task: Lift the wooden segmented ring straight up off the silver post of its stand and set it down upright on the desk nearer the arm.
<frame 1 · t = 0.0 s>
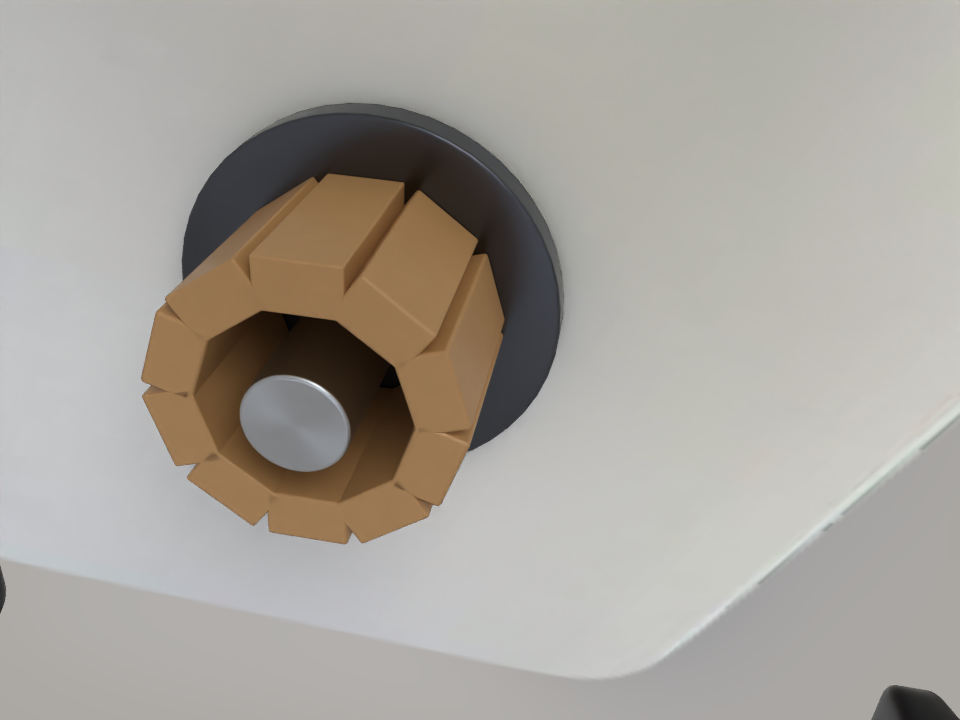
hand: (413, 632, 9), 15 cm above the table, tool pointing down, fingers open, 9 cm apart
wooden segmented ring: (366, 307, 24), point 1 cm above the table, touching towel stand
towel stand: (376, 291, 24), on the table
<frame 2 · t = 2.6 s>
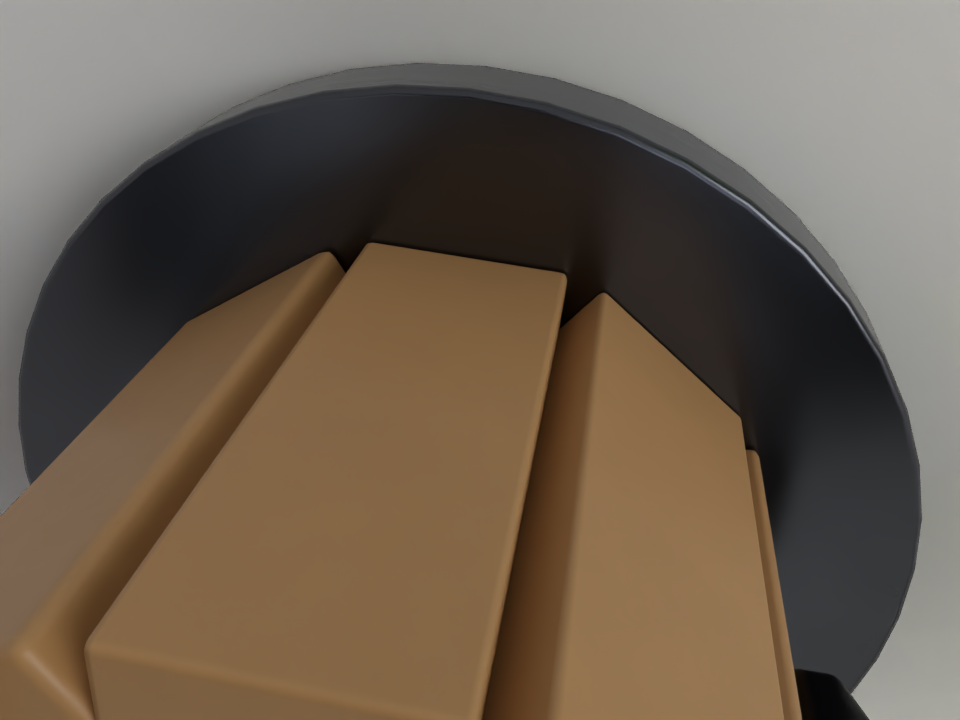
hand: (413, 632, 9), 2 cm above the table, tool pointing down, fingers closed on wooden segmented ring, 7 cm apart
wooden segmented ring: (438, 541, 10), point 1 cm above the table, touching gripper, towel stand
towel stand: (456, 486, 11), on the table
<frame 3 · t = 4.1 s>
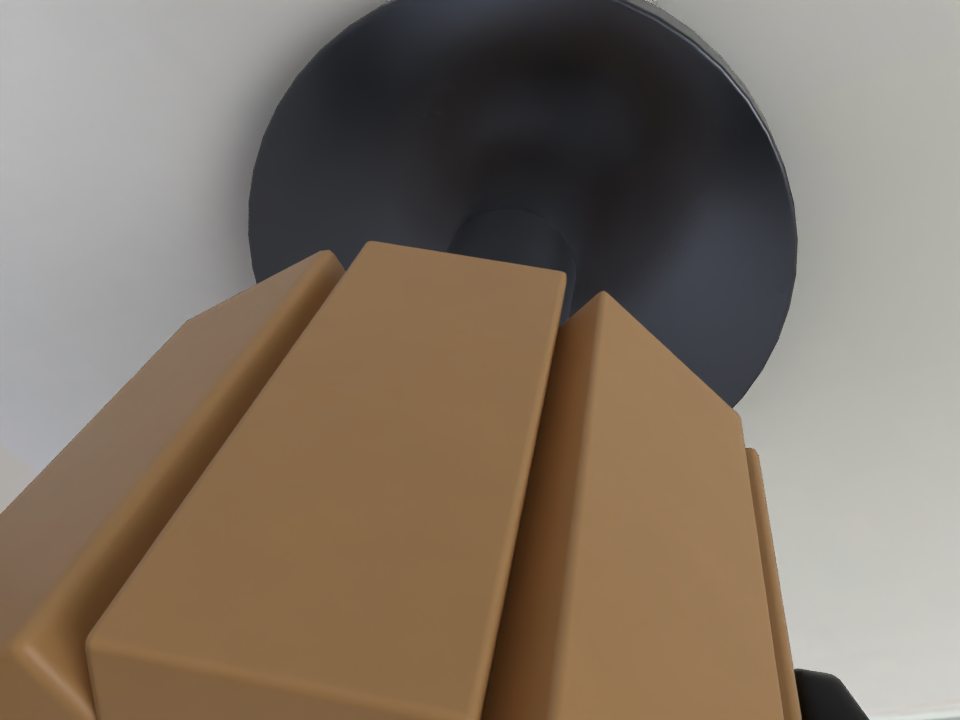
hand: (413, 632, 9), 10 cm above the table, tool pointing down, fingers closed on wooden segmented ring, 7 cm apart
wooden segmented ring: (438, 539, 10), point 8 cm above the table, touching gripper
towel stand: (516, 250, 18), on the table
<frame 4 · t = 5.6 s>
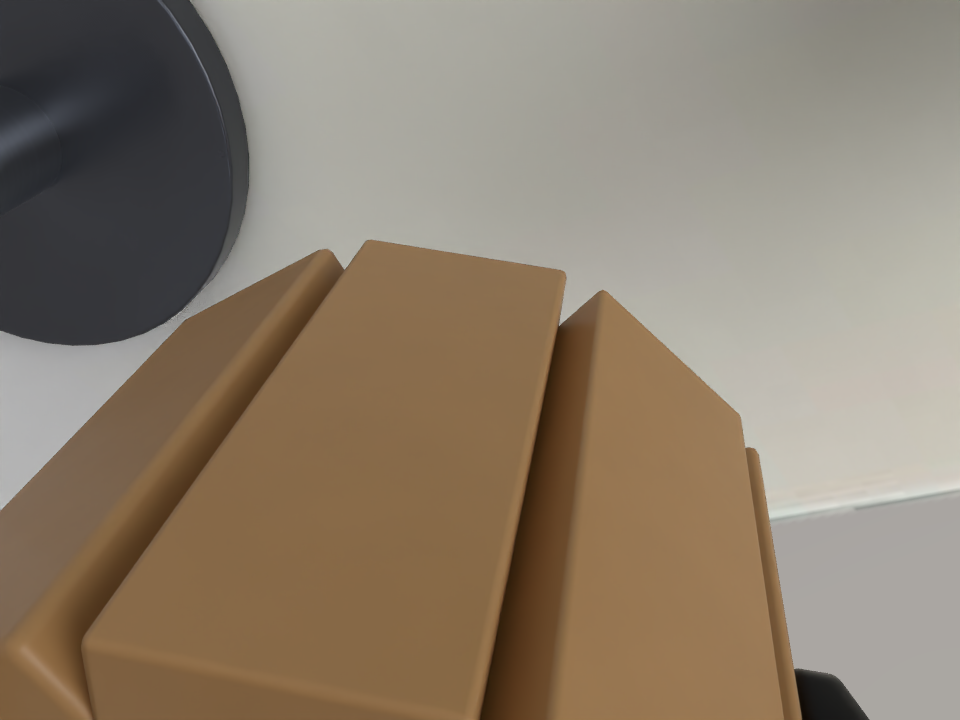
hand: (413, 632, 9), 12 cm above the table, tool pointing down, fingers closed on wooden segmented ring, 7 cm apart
wooden segmented ring: (437, 539, 10), point 11 cm above the table, touching gripper
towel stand: (35, 128, 20), on the table
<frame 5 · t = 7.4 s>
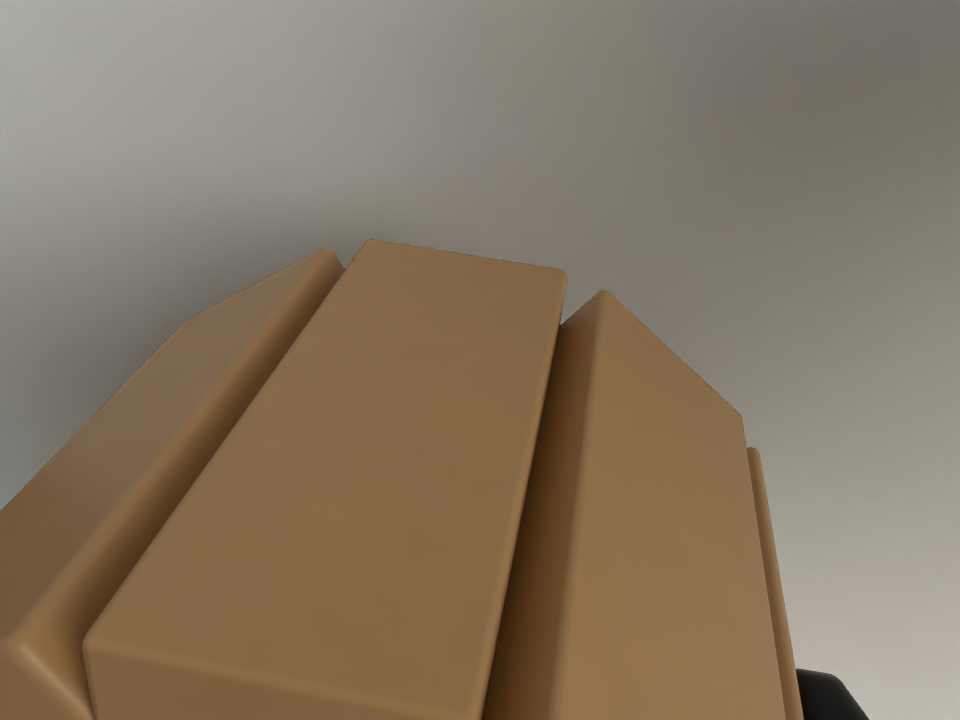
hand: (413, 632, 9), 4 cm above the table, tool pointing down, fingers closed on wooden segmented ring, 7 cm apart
wooden segmented ring: (438, 539, 10), point 2 cm above the table, touching gripper
when the fingers open (1 cm above the table, at t = 8.7 s): wooden segmented ring stays where it is, on the table.
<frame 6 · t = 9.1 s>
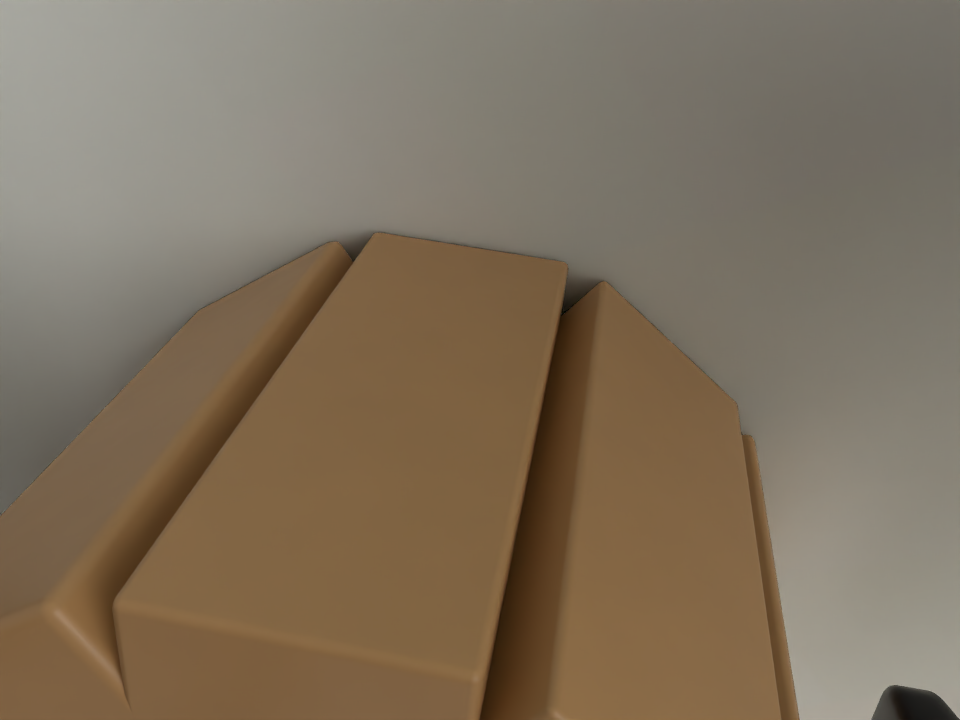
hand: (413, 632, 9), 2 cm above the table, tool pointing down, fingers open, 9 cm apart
wooden segmented ring: (442, 525, 10), on the table
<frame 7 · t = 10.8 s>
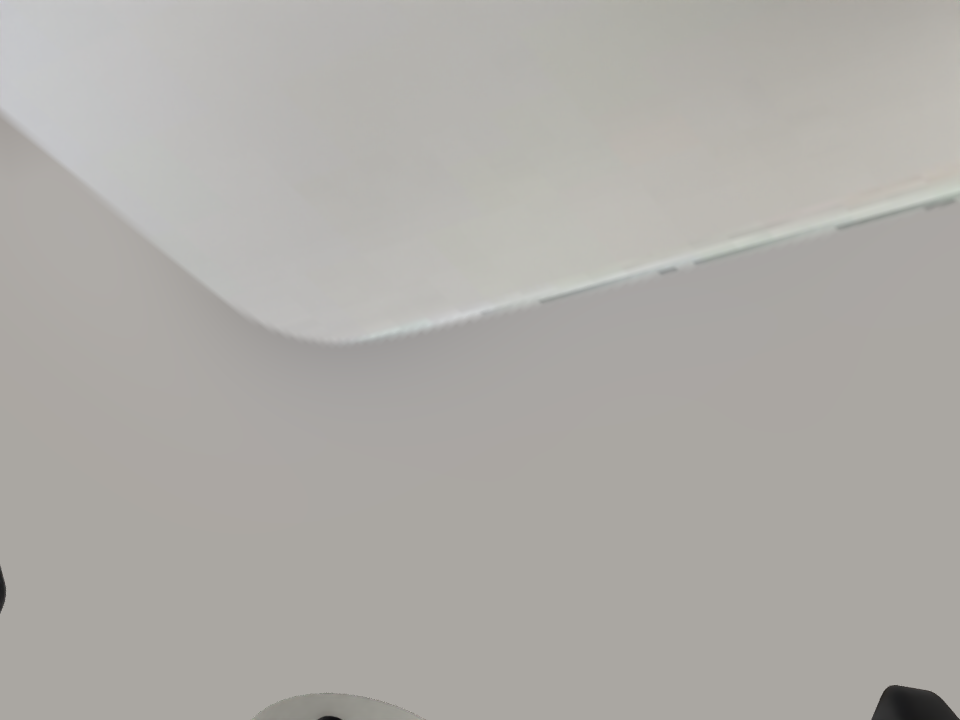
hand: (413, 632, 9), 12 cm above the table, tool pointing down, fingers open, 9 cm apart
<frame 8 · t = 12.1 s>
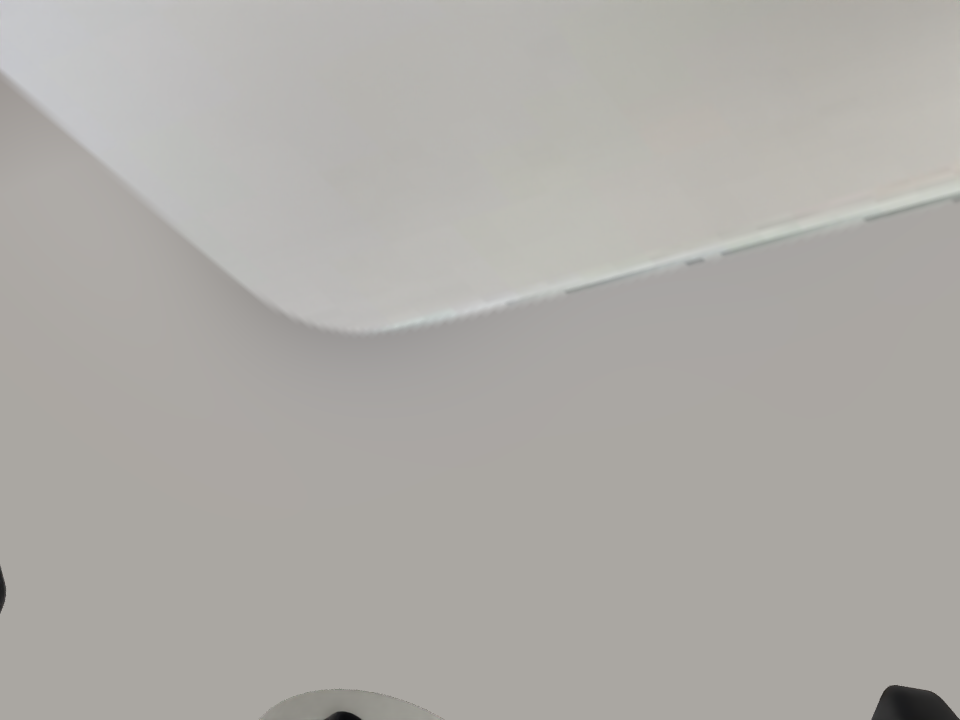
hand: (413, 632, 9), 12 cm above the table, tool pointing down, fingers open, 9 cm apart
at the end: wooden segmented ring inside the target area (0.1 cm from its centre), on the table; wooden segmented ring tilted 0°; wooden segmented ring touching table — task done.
